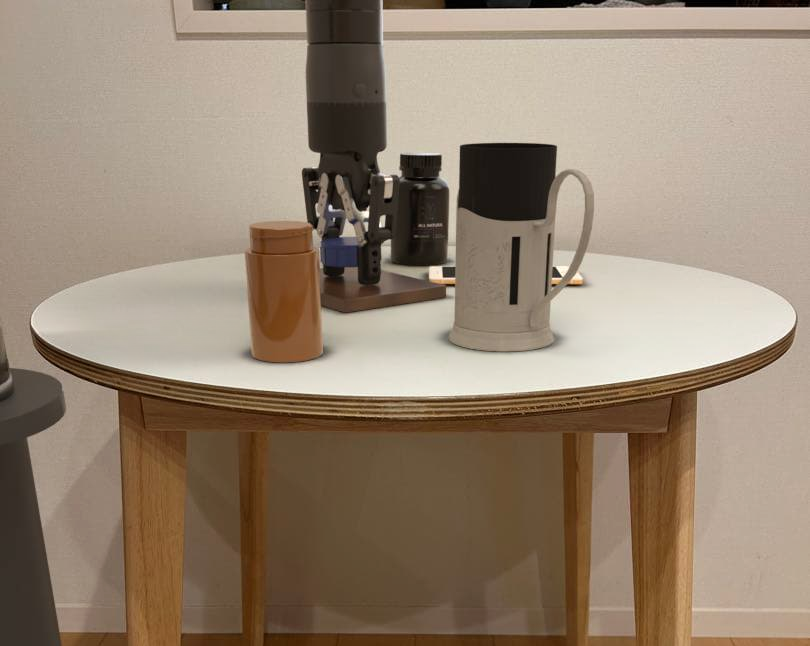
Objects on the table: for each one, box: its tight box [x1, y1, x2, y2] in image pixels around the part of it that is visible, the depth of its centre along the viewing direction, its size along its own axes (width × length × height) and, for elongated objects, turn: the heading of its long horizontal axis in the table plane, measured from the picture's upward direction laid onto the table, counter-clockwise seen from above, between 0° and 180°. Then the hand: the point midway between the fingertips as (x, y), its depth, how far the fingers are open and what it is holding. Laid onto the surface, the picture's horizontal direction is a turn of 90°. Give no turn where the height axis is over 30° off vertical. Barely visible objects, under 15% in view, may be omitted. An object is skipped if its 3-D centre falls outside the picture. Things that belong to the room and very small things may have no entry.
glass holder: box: [448, 142, 595, 352], centre depth 79 cm, size 9×14×15 cm, turn 33°
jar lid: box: [319, 236, 360, 267], centre depth 101 cm, size 6×6×2 cm
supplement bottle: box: [390, 152, 451, 266], centre depth 117 cm, size 7×7×12 cm
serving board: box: [320, 267, 447, 314], centre depth 102 cm, size 12×16×1 cm
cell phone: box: [428, 265, 584, 285], centre depth 109 cm, size 8×16×1 cm, turn 89°
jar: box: [244, 220, 324, 363], centre depth 78 cm, size 6×6×10 cm
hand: (351, 278), depth 102 cm, fingers closed on jar lid, 6 cm apart
